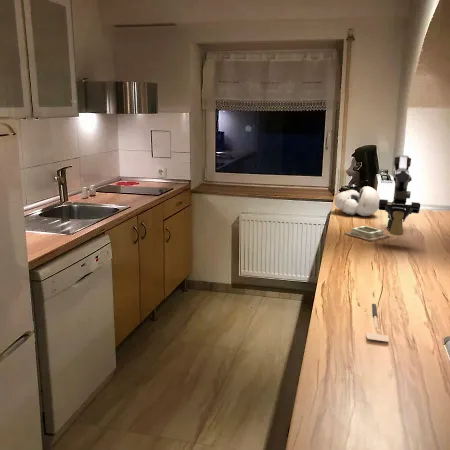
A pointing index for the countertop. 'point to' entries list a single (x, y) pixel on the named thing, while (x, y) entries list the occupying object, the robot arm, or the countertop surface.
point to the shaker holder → (367, 233)
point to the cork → (397, 223)
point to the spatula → (374, 336)
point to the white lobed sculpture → (358, 201)
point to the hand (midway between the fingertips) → (397, 221)
